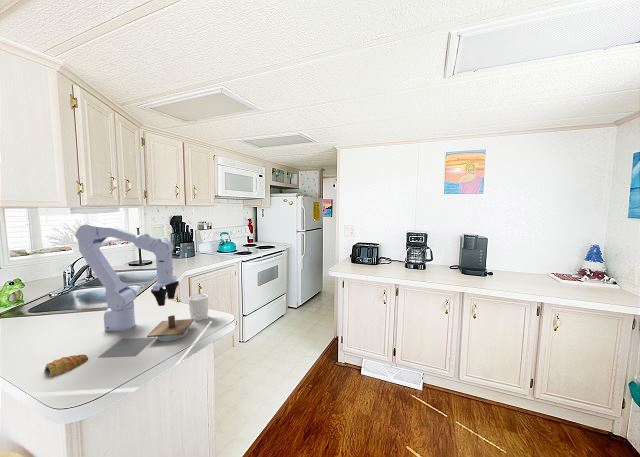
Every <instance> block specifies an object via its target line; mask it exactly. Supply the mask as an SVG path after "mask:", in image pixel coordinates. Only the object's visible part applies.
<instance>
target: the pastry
mask: <svg viewBox="0 0 640 457" xmlns="http://www.w3.org/2000/svg"><path fill="white" fill-rule="evenodd" d="M88 360H89V357H88V355H87V354H78V355H70V356H63V357H60V358H59V359H53V360H52V362H48V363H46V364H45V367H44V372H46V373H48V374H49V375H48V377H54V376H55V377H56V376H58V375H61V374H64V373H66V372H69V371H70V370H73V369H75V368H77V367H79V366H81V365H83V364H84V363H86V361H88Z"/></svg>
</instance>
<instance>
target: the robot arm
mask: <svg viewBox="0 0 640 457" xmlns="http://www.w3.org/2000/svg"><path fill="white" fill-rule="evenodd" d="M74 236H75V238H76V239H77V242H78V251H79V252H80V254H81V256H82V258H84V260H85V261H86V264H88V266H89V267H90V269H91V270H92V272H93V273H94V275H95V276H96V278H97V279H98V280H99V281H100V283H101V285H102V286H103V287H104V289H105V294H104V298H105V300H106V306H107V307H108V308H107V309H106V310H105V312H104V315H103V323H104V324H103V327H104V331H105V332H106V331H111V332H113V331H114V332H123V331H126V330H130V329H132V328H134V327H135V326H136V316H135V302H134V301H135V300H136V299H137V297H138V296H137V292H136V290H135V289H133V288H132V287H130V286H129V284H128V283H125V282H123V281H122V280H121V279H120V277H119V276H118V274H117V273H116V271H115V270H114V268H113V267H112V266H111V264H110V263H109V261H108V260H107V258H106V256H105V255H104V254H103V252H102V251H101V250H100V249H101V246H102V244H103V242H104V241H105V240H106V239H107V238H115V239H118V240H122V241H125V242H129V243H132V244H133V245H134V246H135V248H137V249H141V250H144V251H147V252H151V253H153V254H154V255H155V265H156V266H155V268H156V282H155V283H154V285H152V288H151V290H150V293H151V294H152V295H153V297H154V298H155V301H156V303H157V305H158V307H164V306H165V305H166V295H167V299H168V300H174V299H175V296H176V295H175V294H176V292H177V288H178V285H179V284H180V281H179V280H177V275H174V270H173V269H174V267H173V266H174V265H173V253H172V252H173V251H174V249H175V246H174V244H173V242H172V241H170V240H169V239H164V240H162V238H160V237H159V238H157V237H154V236H150V233H141V234H138V235H137V234H135V233H133V232H129V231H128V230H124V229H122V228H119V227H116V226H113V225H111V224H106V223H104V222H100V223H99V222H98V223H94V224H93V223H92V224H91V223H90V224H89V223H88V224H87V223H86V224H82V225H80V226H78V228H77V230H76V232H75V235H74ZM164 287H165V288H164Z"/></svg>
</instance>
